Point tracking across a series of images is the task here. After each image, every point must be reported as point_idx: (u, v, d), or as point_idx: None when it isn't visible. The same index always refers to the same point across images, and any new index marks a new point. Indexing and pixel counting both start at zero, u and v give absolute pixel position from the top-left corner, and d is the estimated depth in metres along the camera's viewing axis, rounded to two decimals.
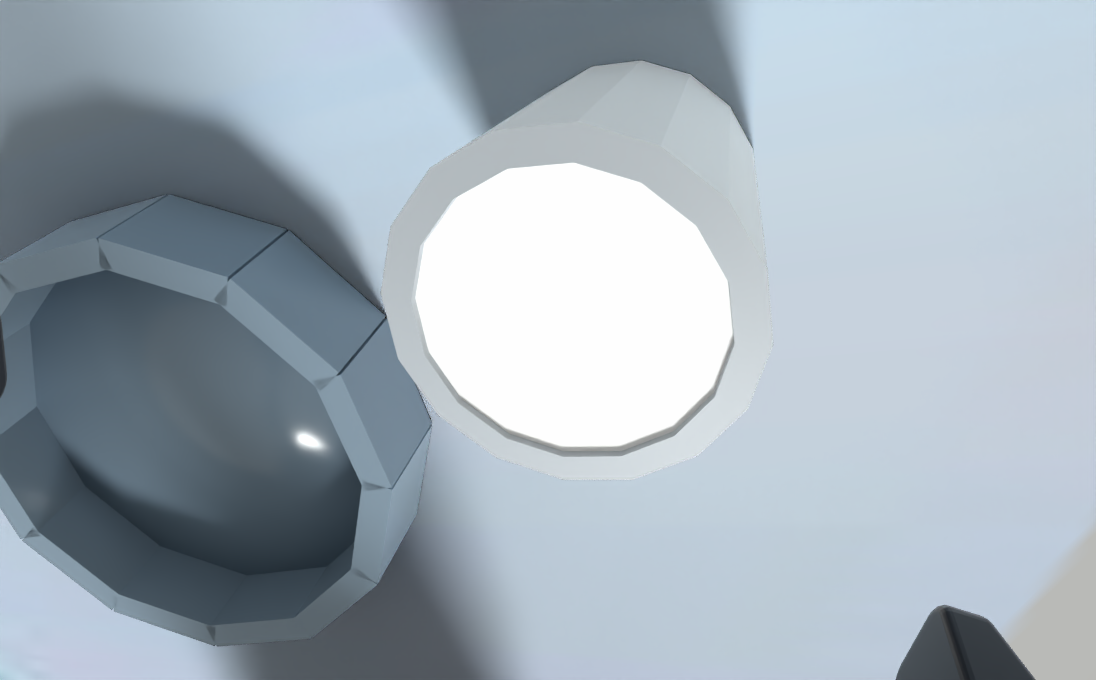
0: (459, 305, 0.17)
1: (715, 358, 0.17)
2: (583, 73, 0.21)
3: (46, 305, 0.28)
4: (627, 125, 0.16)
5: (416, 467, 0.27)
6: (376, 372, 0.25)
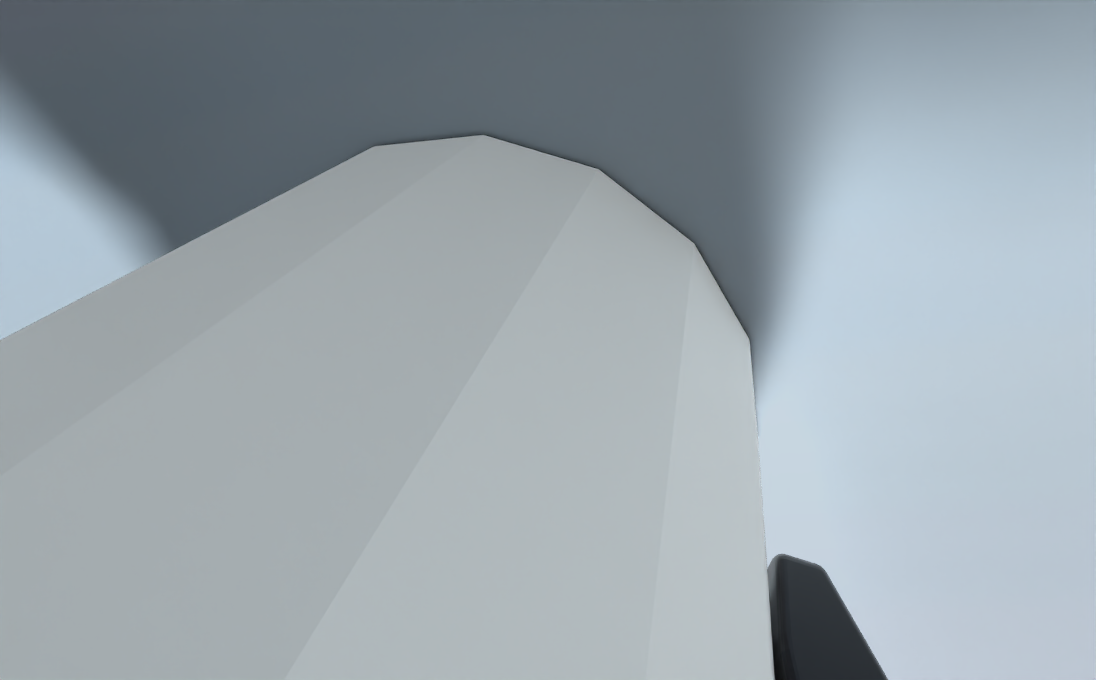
0: None
1: None
2: (326, 173, 0.08)
3: None
4: (146, 567, 0.03)
5: None
6: None
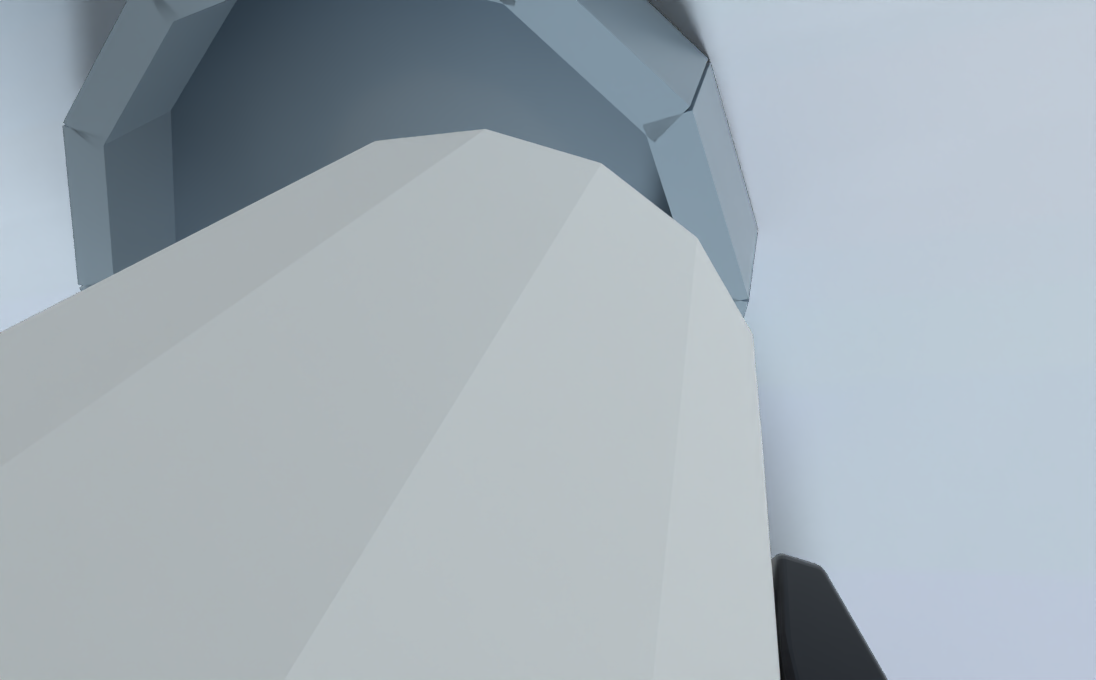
0: None
1: None
2: (328, 167, 0.08)
3: (196, 79, 0.19)
4: (154, 554, 0.03)
5: None
6: (714, 128, 0.17)
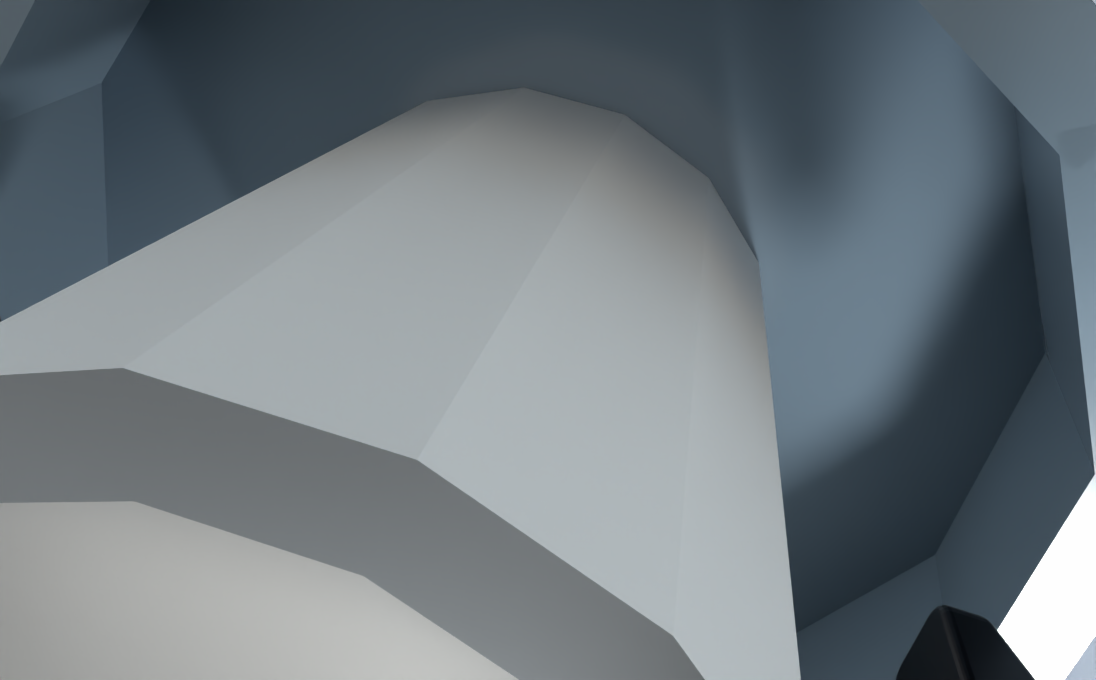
0: None
1: None
2: (392, 121, 0.10)
3: (146, 30, 0.11)
4: (339, 352, 0.05)
5: None
6: None
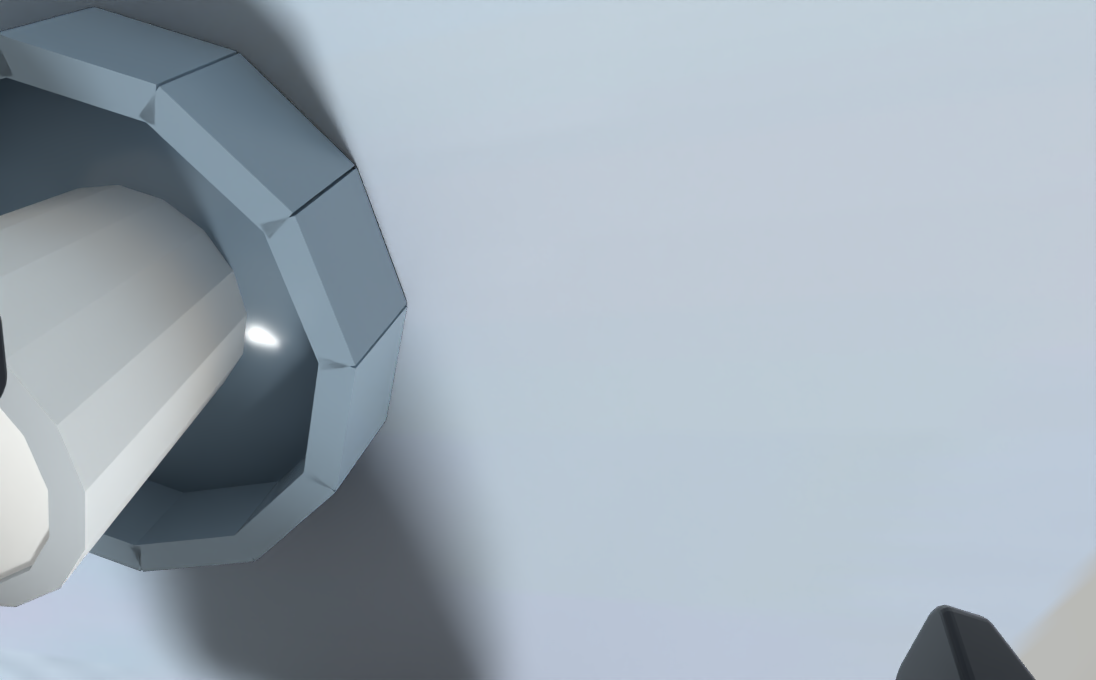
0: None
1: (41, 501, 0.17)
2: (46, 199, 0.22)
3: None
4: None
5: (386, 354, 0.22)
6: (340, 225, 0.21)
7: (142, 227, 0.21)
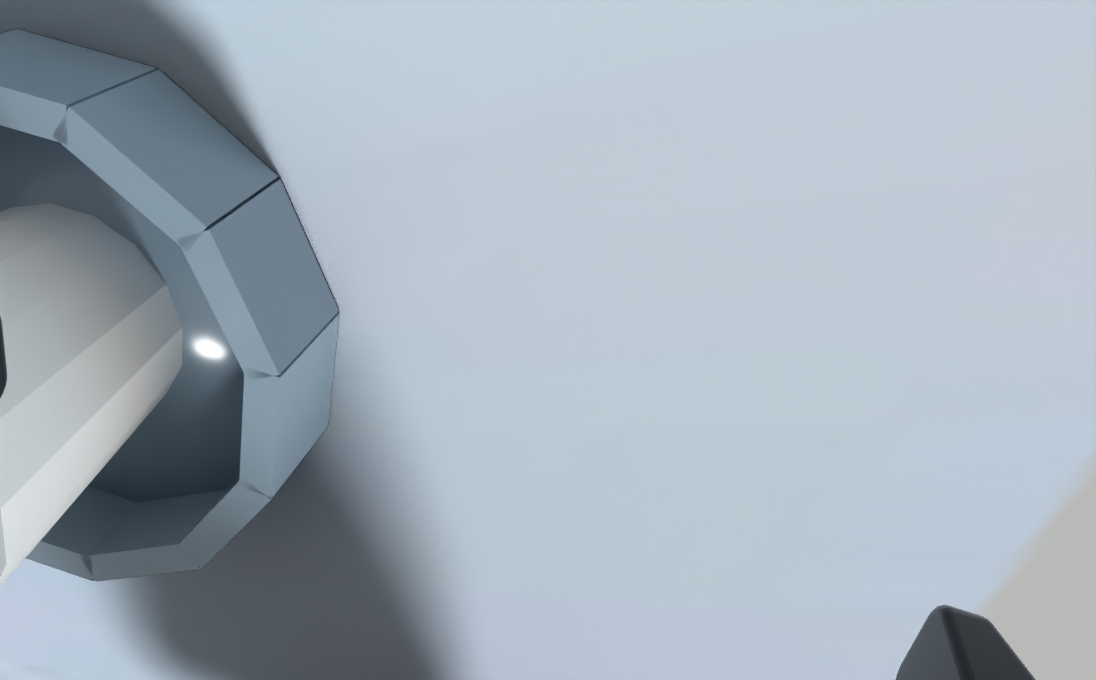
0: None
1: None
2: None
3: None
4: None
5: (319, 361, 0.23)
6: (261, 237, 0.21)
7: (69, 245, 0.21)
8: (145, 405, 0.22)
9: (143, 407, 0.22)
